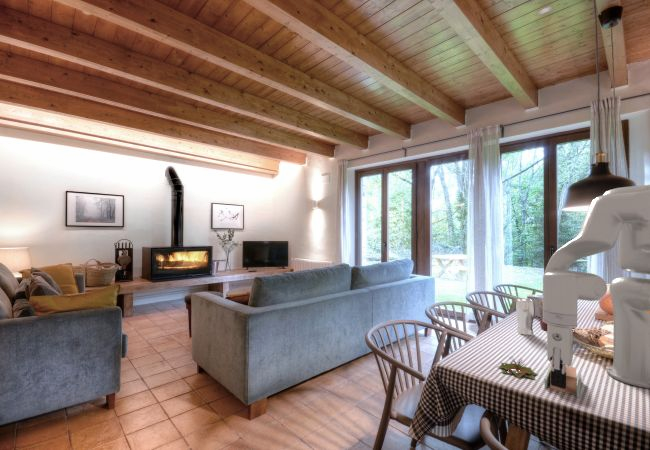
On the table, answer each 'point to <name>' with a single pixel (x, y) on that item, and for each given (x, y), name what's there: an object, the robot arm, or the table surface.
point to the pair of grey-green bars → (549, 379)
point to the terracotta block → (567, 381)
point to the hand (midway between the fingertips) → (558, 386)
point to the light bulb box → (536, 303)
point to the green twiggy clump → (518, 367)
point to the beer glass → (525, 315)
